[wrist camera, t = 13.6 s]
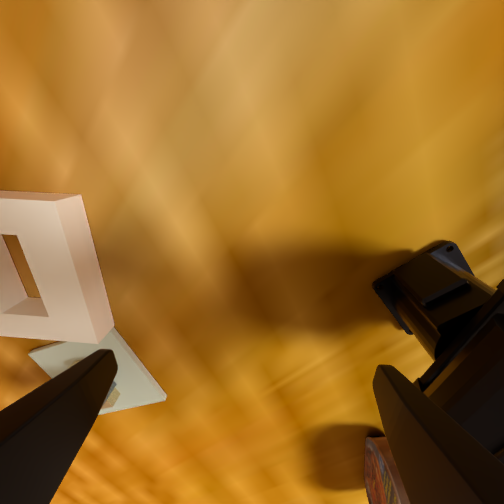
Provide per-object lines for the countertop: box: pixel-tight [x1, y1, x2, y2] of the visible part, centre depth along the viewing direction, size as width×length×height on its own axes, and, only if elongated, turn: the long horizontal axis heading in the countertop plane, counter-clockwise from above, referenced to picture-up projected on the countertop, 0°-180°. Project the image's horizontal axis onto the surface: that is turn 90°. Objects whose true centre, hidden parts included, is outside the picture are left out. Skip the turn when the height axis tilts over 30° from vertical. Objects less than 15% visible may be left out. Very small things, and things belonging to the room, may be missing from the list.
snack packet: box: [364, 437, 410, 504], centre depth 26 cm, size 15×3×8 cm, turn 9°
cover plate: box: [0, 190, 115, 344], centre depth 20 cm, size 12×13×2 cm
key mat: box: [28, 327, 167, 415], centre depth 27 cm, size 11×11×1 cm
